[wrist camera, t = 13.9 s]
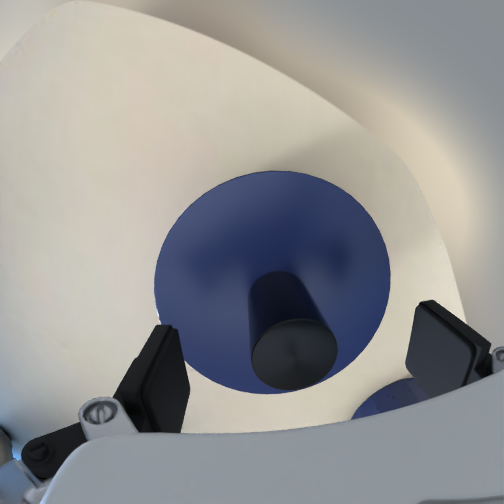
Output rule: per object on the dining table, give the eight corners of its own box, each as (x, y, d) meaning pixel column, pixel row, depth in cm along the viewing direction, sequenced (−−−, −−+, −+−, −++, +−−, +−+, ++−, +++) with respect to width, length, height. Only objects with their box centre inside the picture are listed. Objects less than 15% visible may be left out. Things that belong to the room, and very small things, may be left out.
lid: (384, 170, 15) (459, 169, 8) (371, 369, 18) (411, 432, 12) (145, 182, 15) (85, 185, 8) (179, 387, 18) (161, 462, 11)
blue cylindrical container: (440, 367, 29) (471, 400, 22) (417, 430, 32) (437, 462, 25) (356, 389, 29) (378, 434, 22) (342, 451, 32) (356, 491, 25)
